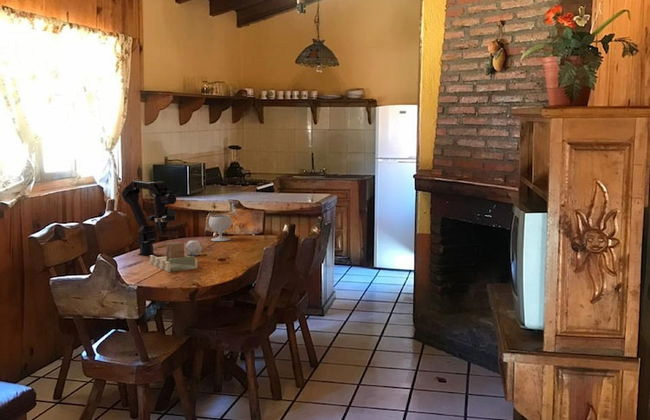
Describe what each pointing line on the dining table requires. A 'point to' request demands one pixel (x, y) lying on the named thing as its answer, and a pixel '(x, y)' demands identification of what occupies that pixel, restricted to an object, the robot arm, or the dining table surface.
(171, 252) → the walnut block
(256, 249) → the dining table surface
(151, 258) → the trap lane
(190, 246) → the die
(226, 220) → the chalice
